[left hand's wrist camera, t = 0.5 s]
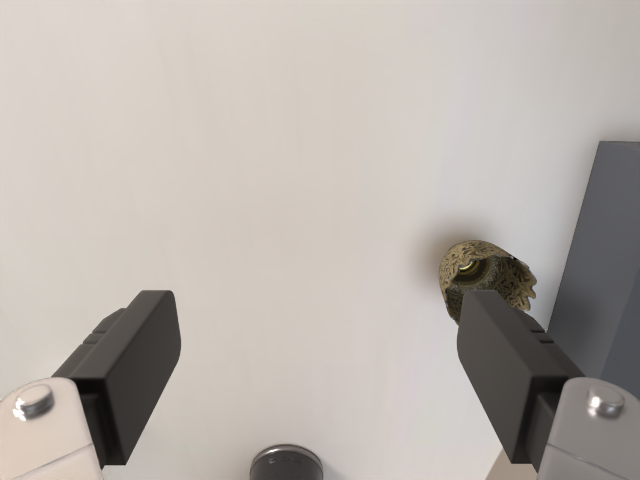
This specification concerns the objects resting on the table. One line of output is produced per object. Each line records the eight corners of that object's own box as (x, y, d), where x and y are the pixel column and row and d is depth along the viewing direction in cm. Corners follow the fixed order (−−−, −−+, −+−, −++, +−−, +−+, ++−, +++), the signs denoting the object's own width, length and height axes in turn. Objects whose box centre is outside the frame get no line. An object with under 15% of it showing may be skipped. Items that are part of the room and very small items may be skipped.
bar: (579, 368, 47) (633, 429, 39) (537, 367, 47) (582, 428, 39) (653, 142, 37) (744, 161, 29) (599, 141, 37) (676, 159, 29)
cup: (410, 271, 42) (429, 314, 34) (449, 210, 39) (479, 242, 32) (471, 299, 43) (502, 346, 36) (512, 241, 40) (556, 279, 33)
